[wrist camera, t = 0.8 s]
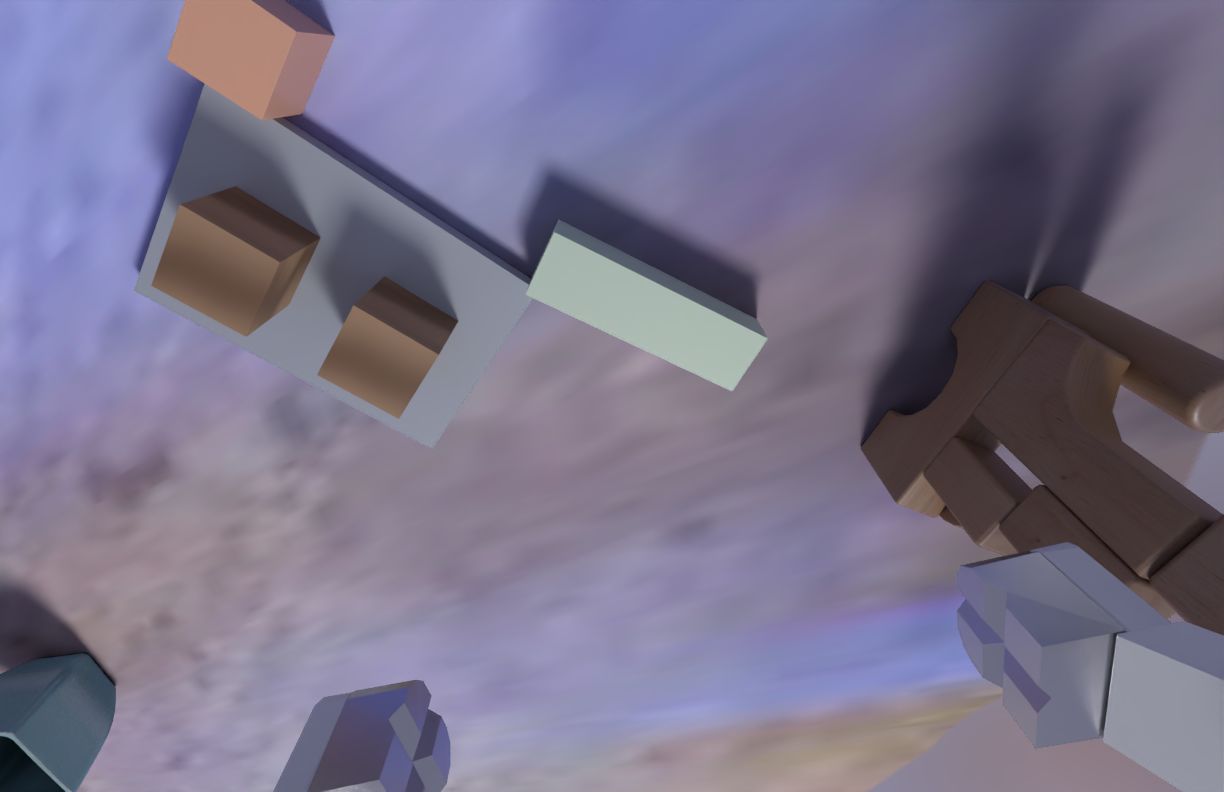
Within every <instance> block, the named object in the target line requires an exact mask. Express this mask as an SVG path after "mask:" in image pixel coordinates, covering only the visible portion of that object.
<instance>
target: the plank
mask: <svg viewBox="0 0 1224 792" xmlns="http://www.w3.org/2000/svg"><path fill="white" fill-rule="evenodd" d="M525 295H527V296H530V297H532V298H534V299H536V300H538V301H540V302H542V303H544V304H547V305H549V306H551V307H553V308H555V309H557V310H559V311H562V312H564V313H566V314H568V315H570V316H572V317H574V318H577V319H579V320H581V321H583V322H585V323H587V324H589V325H591V326H594V327H596V328H598V329H600V330H602V331H604V332H606V333H609V334H611V335H613V336H615V337H617V338H619V339H621V340H623V341H626V342H628V343H630V344H632V345H634V346H636V347H638V348H641V349H643V350H645V351H647V352H649V353H651V354H653V355H655V356H658V357H660V358H662V359H664V360H666V361H668V362H670V363H673V364H675V365H677V366H679V367H681V368H683V369H685V370H688V371H690V372H692V373H694V374H696V375H698V376H700V377H702V378H705V379H707V380H709V381H711V382H713V383H715V384H717V385H720V386H722V387H724V388H726V389H728V390H730V391H733V389H734V388H735V386H736V385H737V383H738V382H739V381H740V379H741V378H742V376H743V375H744V373H745V372H746V370H747V369H748V367H749V366H750V364H751V363H752V361H753V360H754V358H755V357H756V356H757V354H758V353H759V351H760V350H761V348H762V347H763V345H764V344H765V342H766V341H767V339H768V338H767V336H766V334H765V333H764V331H763V329H762V327H761V326H760V324H759V322H758V321H757V319H756V318H754V317H752V316H750V315H748V314H746V313H744V312H742V311H740V310H738V309H736V308H734V307H732V306H730V305H728V304H726V303H724V302H722V301H720V300H718V299H716V298H714V297H712V296H710V295H708V294H706V293H704V292H702V291H700V290H698V289H696V288H694V287H692V286H690V285H688V284H686V283H684V282H682V281H680V280H678V279H676V278H674V277H672V276H670V275H668V274H666V273H664V272H662V271H660V270H658V269H656V268H654V267H652V266H650V265H648V264H646V263H644V262H642V261H640V260H638V259H636V258H634V257H632V256H630V255H628V254H626V253H625V252H623V251H621V250H619V249H617V248H615V247H613V246H611V245H609V244H607V243H605V242H603V241H601V240H599V239H597V238H595V237H593V236H591V235H589V234H587V233H585V232H583V231H581V230H579V229H577V228H575V227H573V226H571V225H569V224H567V223H565V222H563V221H561V220H559V219H558V221H557V223H556V225H555V228H554V230H553V232H552V234H551V236H550V238H549V241H548V243H547V245H546V247H545V249H544V252H543V254H542V256H541V258H540V260H539V263H538V265H537V267H536V269H535V271H534V273H533V276H532V278H531V281H530V283H529V286H528V289H527V292H526V294H525Z"/></svg>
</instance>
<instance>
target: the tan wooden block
mask: <svg viewBox="0 0 1224 792" xmlns="http://www.w3.org/2000/svg"><path fill="white" fill-rule="evenodd" d="M319 241H320V237H319V236H317V235H315V234H314V233H312V232H310V231H309V230H307V229H305V228H304V227H302V226H300V225H299V224H297V223H295V222H294V221H292V220H291V219H289V218H287V217H286V216H284V215H282V214H281V213H279V212H277V211H276V210H274V209H272V208H271V207H269V206H267V205H266V204H264V203H262V202H261V201H259V200H257V199H256V198H254V197H253V196H251V195H249V194H248V193H246V192H244V191H243V190H241V189H239V188H238V187H236V186H235V187H231V188H228V189H225V190H222V191H219V192H216V193H213V194H210V195H207V196H204V197H201V198H198V199H195V200H192V201H188V202H185V203H182V204H180V205H179V208H178V211H177V214H176V217H175V220H174V222H173V225H172V228H171V231H170V234H169V237H168V239H167V242H166V245H165V248H164V251H163V253H162V256H161V259H160V262H159V265H158V268H157V270H156V273H155V276H154V279H153V282H152V285H151V286H153V287H154V288H156V289H158V290H160V291H162V292H164V293H166V294H167V295H169V296H171V297H173V298H175V299H177V300H179V301H180V302H182V303H184V304H186V305H188V306H190V307H192V308H193V309H195V310H197V311H199V312H201V313H203V314H205V315H206V316H208V317H210V318H212V319H214V320H216V321H218V322H219V323H221V324H223V325H225V326H227V327H229V328H231V329H232V330H234V331H236V332H238V333H240V334H242V335H244V336H245V337H247V336H248V335H250V334H251V333H252V332H254V331H255V330H256V329H258V328H259V327H260V326H262V325H263V324H264V323H266V322H267V321H268V320H270V319H271V318H272V317H274V316H275V315H276V314H278V313H279V312H280V311H282V310H283V309H284V308H286V307H287V306H288V305H289V304H290V302H291V300H292V298H293V296H294V293H295V291H296V289H297V287H298V285H299V283H300V281H301V279H302V277H303V274H304V272H305V270H306V268H307V266H308V264H309V262H310V260H311V257H312V255H313V253H314V251H315V249H316V247H317V245H318V243H319Z"/></svg>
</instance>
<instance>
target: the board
mask: <svg viewBox="0 0 1224 792" xmlns="http://www.w3.org/2000/svg"><path fill="white" fill-rule="evenodd" d="M235 186H236V187H238V188H239V189H241V190H243V191H244V192H246V193H248V194H249V195H251V196H253V197H254V198H256V199H257V200H259V201H261V202H262V203H264V204H266V205H267V206H269V207H271V208H272V209H274V210H276V211H277V212H279V213H281V214H282V215H284V216H286V217H287V218H289V219H291V220H292V221H294V222H295V223H297V224H299V225H300V226H302V227H304V228H305V229H307V230H309V231H310V232H312V233H314V234H315V235H317V236H319V237H320V241H319V243H318V245H317V247H316V249H315V251H314V253H313V255H312V257H311V260H310V262H309V264H308V266H307V268H306V270H305V272H304V274H303V277H302V279H301V281H300V283H299V285H298V287H297V289H296V291H295V293H294V296H293V298H292V300H291V302H290V304H289V305H288V306H287V307H286V308H284V309H283V310H282V311H280V312H279V313H278V314H276V315H275V316H274V317H272V318H271V319H270V320H268V321H267V322H266V323H264V324H263V325H262V326H260V327H259V328H258V329H256V330H255V331H254V332H252V333H251V334H250V335H248V336H247V337H245V336H244V335H242V334H240V333H238V332H236V331H234V330H232V329H231V328H229V327H227V326H225V325H223V324H221V323H219V322H218V321H216V320H214V319H212V318H210V317H208V316H206V315H205V314H203V313H201V312H199V311H197V310H195V309H193V308H192V307H190V306H188V305H186V304H184V303H182V302H180V301H179V300H177V299H175V298H173V297H171V296H169V295H167V294H166V293H164V292H162V291H160V290H158V289H156V288H154V287H153V286H151V285H152V282H153V279H154V276H155V273H156V270H157V268H158V265H159V262H160V259H161V256H162V253H163V251H164V248H165V245H166V242H167V239H168V237H169V234H170V231H171V228H172V225H173V222H174V220H175V217H176V214H177V211H178V208H179V205H180V204H182V203H185V202H188V201H192V200H195V199H198V198H201V197H204V196H207V195H210V194H213V193H216V192H219V191H222V190H225V189H228V188H231V187H235ZM384 276H385V277H386V278H388V279H390V280H391V281H393V282H395V283H396V284H398V285H400V286H401V287H403V288H405V289H406V290H408V291H410V292H411V293H413V294H415V295H416V296H418V297H420V298H421V299H423V300H424V301H426V302H428V303H429V304H431V305H433V306H434V307H436V308H438V309H439V310H441V311H443V312H444V313H446V314H448V315H449V316H451V317H453V318H454V319H456V320H458V323H457V325H456V326H455V328H454V330H453V332H452V333H451V335H450V337H449V338H448V340H447V342H446V344H445V345H444V347H443V349H442V350H441V352H440V354H439V355H438V357H437V359H436V360H435V362H434V363H433V365H432V367H431V368H430V370H429V372H428V373H427V375H426V376H425V378H424V380H423V381H422V383H421V384H420V386H419V388H418V389H417V391H416V392H415V394H414V396H413V397H412V399H411V400H410V402H409V404H408V405H407V407H406V408H405V410H404V412H403V413H402V415H401V417H400V418H399V419H398V418H396V417H394V416H392V415H390V414H389V413H387V412H385V411H383V410H381V409H379V408H377V407H376V406H374V405H372V404H370V403H368V402H366V401H364V400H363V399H361V398H359V397H357V396H355V395H353V394H351V393H350V392H348V391H346V390H344V389H342V388H340V387H338V386H337V385H335V384H333V383H331V382H329V381H327V380H325V379H324V378H322V377H320V376H318V375H317V374H318V372H319V370H320V368H321V366H322V364H323V362H324V361H325V359H326V357H327V355H328V353H329V351H330V349H331V347H332V345H333V343H334V342H335V340H336V338H337V336H338V334H339V332H340V330H341V328H342V326H343V324H344V323H345V321H346V319H347V317H348V315H349V313H350V311H351V309H352V307H353V305H354V304H355V303H357V302H358V301H359V300H360V299H361V298H362V297H363V296H364V295H365V294H366V293H367V292H368V291H369V290H370V289H371V288H372V287H374V286H375V285H376V284H377V283H378V282H379V281H380V280H381V279H382V278H383V277H384ZM530 281H531V278H529V277H528V276H526V275H525V274H523V273H522V272H520V271H518V270H517V269H515V268H514V267H512V266H511V265H509V264H508V263H506V262H505V261H503V260H502V259H500V258H498V257H497V256H495V255H494V254H492V253H491V252H489V251H488V250H486V249H485V248H483V247H482V246H480V245H479V244H477V243H475V242H474V241H472V240H471V239H469V238H468V237H466V236H465V235H463V234H462V233H460V232H459V231H457V230H455V229H454V228H452V227H451V226H449V225H448V224H446V223H445V222H443V221H442V220H440V219H439V218H437V217H435V216H434V215H432V214H431V213H429V212H428V211H426V210H425V209H423V208H422V207H420V206H419V205H417V204H416V203H414V202H412V201H411V200H409V199H408V198H406V197H405V196H403V195H402V194H400V193H399V192H397V191H396V190H394V189H392V188H391V187H389V186H388V185H386V184H385V183H383V182H382V181H380V180H379V179H377V178H376V177H374V176H373V175H371V174H369V173H368V172H366V171H365V170H363V169H362V168H360V167H359V166H357V165H356V164H354V163H353V162H351V161H349V160H348V159H346V158H345V157H343V156H342V155H340V154H339V153H337V152H336V151H334V150H333V149H331V148H329V147H328V146H326V145H325V144H323V143H322V142H320V141H319V140H317V139H316V138H314V137H313V136H311V135H310V134H308V133H306V132H305V131H303V130H302V129H300V128H299V127H297V126H296V125H294V124H293V123H291V122H290V121H288V120H286V119H285V118H283V117H280V118H274V119H268V120H260V119H259V118H257V117H256V116H254V115H253V114H251V113H250V112H248V111H246V110H245V109H243V108H242V107H240V106H239V105H237V104H236V103H234V102H232V101H231V100H229V99H228V98H226V97H225V96H223V95H222V94H220V93H218V92H217V91H215V90H214V89H212V88H211V87H209V86H208V85H206V84H204V87H203V90H202V93H201V96H200V98H199V101H198V104H197V107H196V110H195V113H194V116H193V119H192V122H191V125H190V128H189V131H188V134H187V137H186V139H185V142H184V145H183V148H182V151H181V154H180V157H179V160H178V163H177V166H176V169H175V172H174V175H173V178H172V180H171V183H170V186H169V189H168V192H167V195H166V198H165V201H164V204H163V207H162V210H161V213H160V216H159V219H158V221H157V224H156V227H155V230H154V233H153V236H152V239H151V242H150V245H149V248H148V251H147V254H146V257H145V260H144V262H143V265H142V268H141V271H140V274H139V277H138V280H137V283H136V286H135V289H134V291H135V292H137V293H139V294H141V295H143V296H145V297H147V298H149V299H150V300H152V301H154V302H156V303H158V304H160V305H162V306H164V307H165V308H167V309H169V310H171V311H173V312H175V313H177V314H179V315H181V316H182V317H184V318H186V319H188V320H190V321H192V322H194V323H196V324H197V325H199V326H201V327H203V328H205V329H207V330H209V331H211V332H212V333H214V334H216V335H218V336H220V337H222V338H224V339H226V340H228V341H229V342H231V343H233V344H235V345H237V346H239V347H241V348H243V349H244V350H246V351H248V352H250V353H252V354H254V355H256V356H258V357H260V358H261V359H263V360H265V361H267V362H269V363H271V364H273V365H275V366H276V367H278V368H280V369H282V370H284V371H286V372H288V373H290V374H291V375H293V376H295V377H297V378H299V379H301V380H303V381H305V382H307V383H308V384H310V385H312V386H314V387H316V388H318V389H320V390H322V391H323V392H325V393H327V394H329V395H331V396H333V397H335V398H337V399H338V400H340V401H342V402H344V403H346V404H348V405H350V406H352V407H354V408H355V409H357V410H359V411H361V412H363V413H365V414H367V415H369V416H370V417H372V418H374V419H376V420H378V421H380V422H382V423H384V424H386V425H387V426H389V427H391V428H393V429H395V430H397V431H399V432H401V433H402V434H404V435H406V436H408V437H410V438H412V439H414V440H416V441H417V442H419V443H421V444H423V445H425V446H427V447H429V448H431V449H432V448H433V447H434V445H435V444H436V442H437V441H438V439H439V438H440V436H441V435H442V433H443V432H444V430H445V429H446V427H447V426H448V424H449V423H450V421H451V420H452V418H453V417H454V415H455V414H456V412H457V411H458V409H459V408H460V406H461V405H462V403H463V402H464V400H465V399H466V397H467V396H468V394H469V393H470V391H471V390H472V388H473V387H474V385H475V384H476V382H477V381H478V379H479V378H480V377H481V375H482V374H483V372H484V371H485V369H486V368H487V366H488V365H489V363H490V362H491V360H492V359H493V357H494V356H495V354H496V353H497V351H498V350H499V348H500V347H501V345H502V344H503V342H504V341H505V339H506V338H507V336H508V335H509V333H510V332H511V330H512V329H513V327H514V326H515V324H516V323H517V321H518V320H519V318H520V317H521V315H522V314H523V312H524V311H525V309H526V308H527V306H528V305H529V303H530V302H531V300H532V299H533V298H532V297H530V296H527V295H525V294H526V292H527V289H528V286H529V283H530Z"/></svg>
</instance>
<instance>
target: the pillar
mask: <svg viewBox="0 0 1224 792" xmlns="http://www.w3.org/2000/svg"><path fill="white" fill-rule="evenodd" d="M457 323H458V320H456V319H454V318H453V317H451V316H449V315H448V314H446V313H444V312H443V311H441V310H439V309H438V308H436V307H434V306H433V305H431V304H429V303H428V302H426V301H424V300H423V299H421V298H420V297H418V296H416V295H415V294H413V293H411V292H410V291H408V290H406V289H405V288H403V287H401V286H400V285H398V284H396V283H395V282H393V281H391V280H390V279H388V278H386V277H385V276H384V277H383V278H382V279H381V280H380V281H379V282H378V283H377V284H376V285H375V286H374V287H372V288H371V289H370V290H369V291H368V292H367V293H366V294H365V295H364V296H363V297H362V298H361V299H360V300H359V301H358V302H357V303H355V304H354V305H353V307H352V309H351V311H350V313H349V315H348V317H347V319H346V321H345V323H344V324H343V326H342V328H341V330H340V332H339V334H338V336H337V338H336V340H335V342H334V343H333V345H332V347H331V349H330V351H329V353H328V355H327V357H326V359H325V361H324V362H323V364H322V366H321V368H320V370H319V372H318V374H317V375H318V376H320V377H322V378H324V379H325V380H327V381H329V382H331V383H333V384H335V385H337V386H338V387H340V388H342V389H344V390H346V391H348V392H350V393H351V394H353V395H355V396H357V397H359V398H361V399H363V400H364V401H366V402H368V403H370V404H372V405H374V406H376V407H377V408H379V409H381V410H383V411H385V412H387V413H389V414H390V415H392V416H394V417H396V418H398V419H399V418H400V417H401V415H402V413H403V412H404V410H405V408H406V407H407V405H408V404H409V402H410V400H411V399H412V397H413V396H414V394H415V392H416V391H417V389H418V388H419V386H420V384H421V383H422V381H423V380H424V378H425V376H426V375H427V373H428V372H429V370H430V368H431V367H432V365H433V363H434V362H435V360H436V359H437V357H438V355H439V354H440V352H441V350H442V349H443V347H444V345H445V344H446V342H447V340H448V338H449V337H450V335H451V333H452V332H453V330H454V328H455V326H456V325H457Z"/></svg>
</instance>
